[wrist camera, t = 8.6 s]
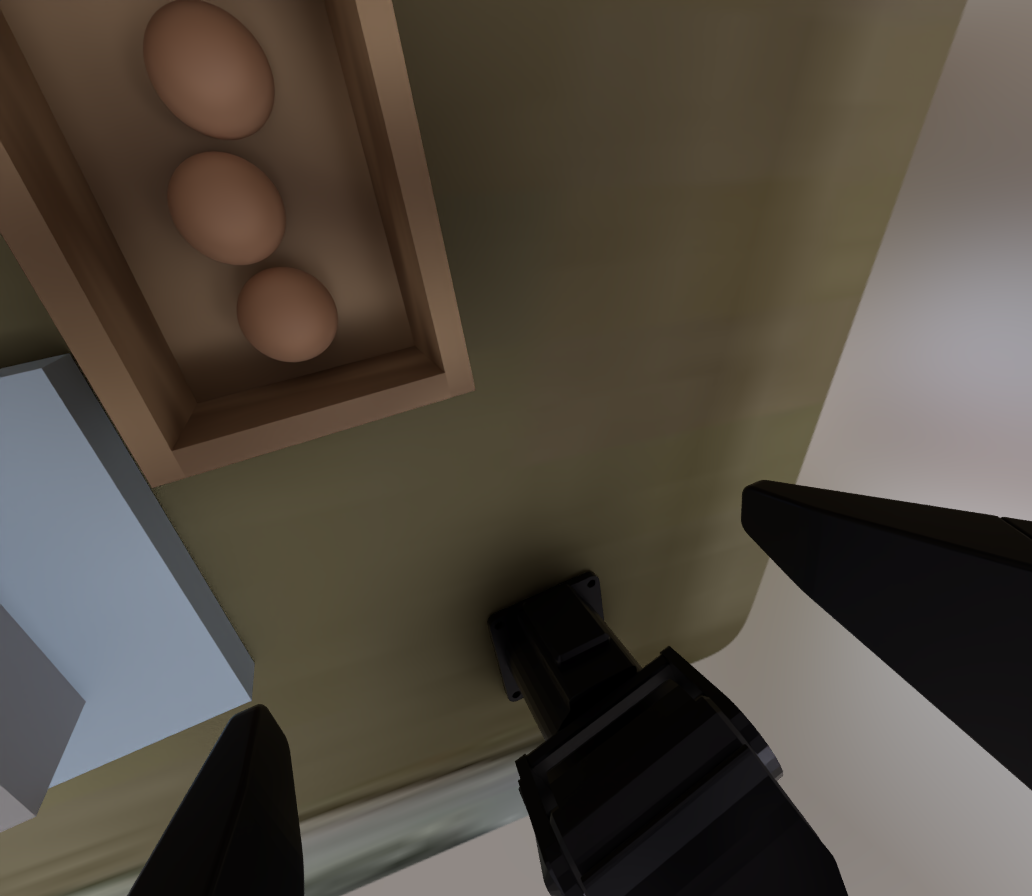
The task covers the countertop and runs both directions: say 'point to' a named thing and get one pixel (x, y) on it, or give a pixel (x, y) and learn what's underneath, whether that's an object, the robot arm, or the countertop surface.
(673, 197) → the countertop surface
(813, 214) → the countertop surface
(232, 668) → the lid
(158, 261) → the box
